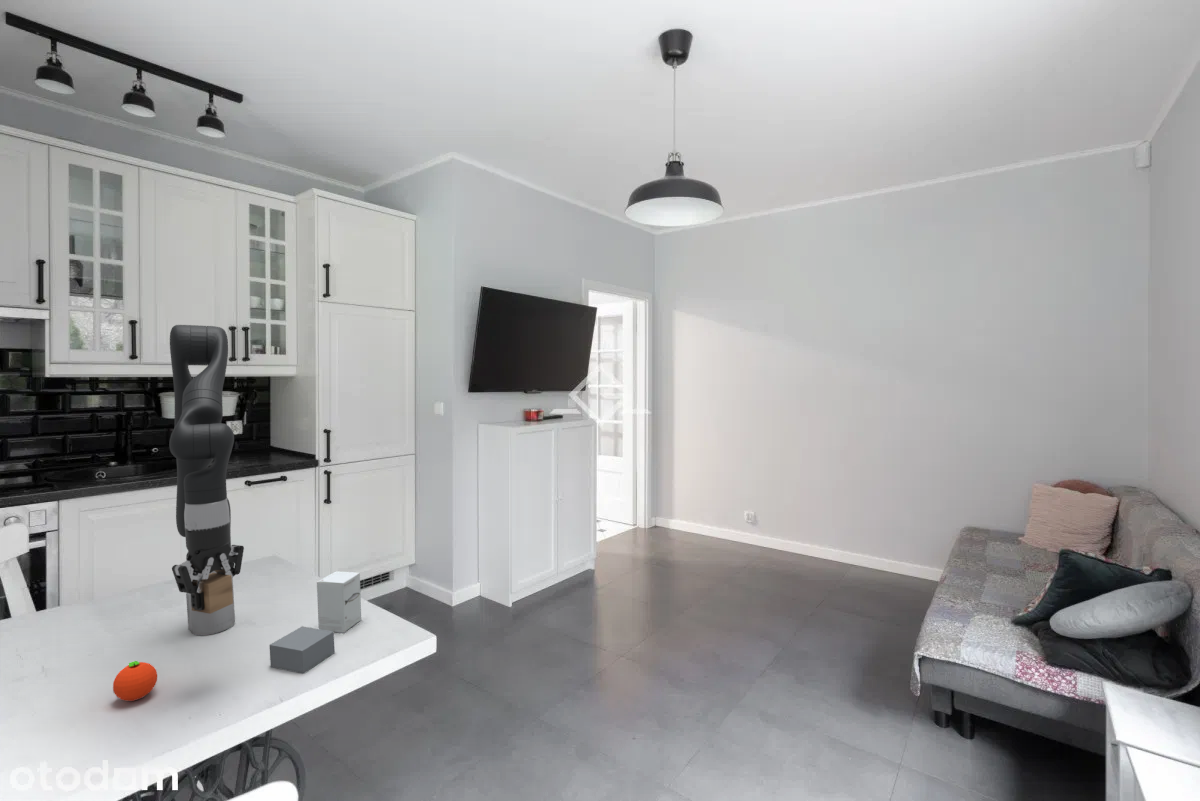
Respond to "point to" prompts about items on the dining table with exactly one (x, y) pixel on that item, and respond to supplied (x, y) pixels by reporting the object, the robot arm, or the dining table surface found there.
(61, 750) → the dining table surface
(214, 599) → the walnut block
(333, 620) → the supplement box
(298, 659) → the base
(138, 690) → the clementine
